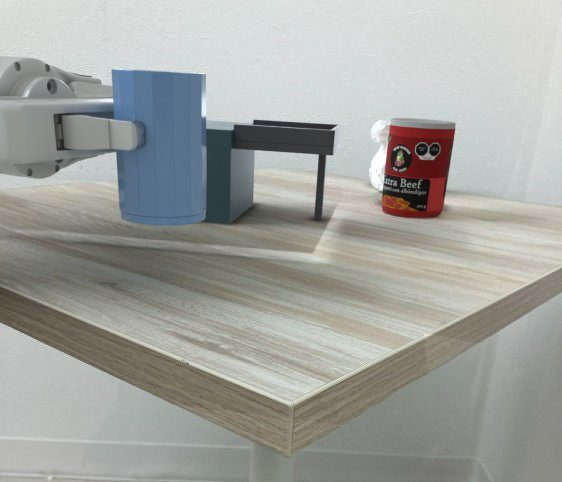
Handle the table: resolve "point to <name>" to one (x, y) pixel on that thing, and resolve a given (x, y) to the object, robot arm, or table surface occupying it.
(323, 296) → the table surface
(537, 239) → the table surface
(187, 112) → the cylindrical container
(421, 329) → the table surface
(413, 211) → the canned food
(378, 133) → the bust
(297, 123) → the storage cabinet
